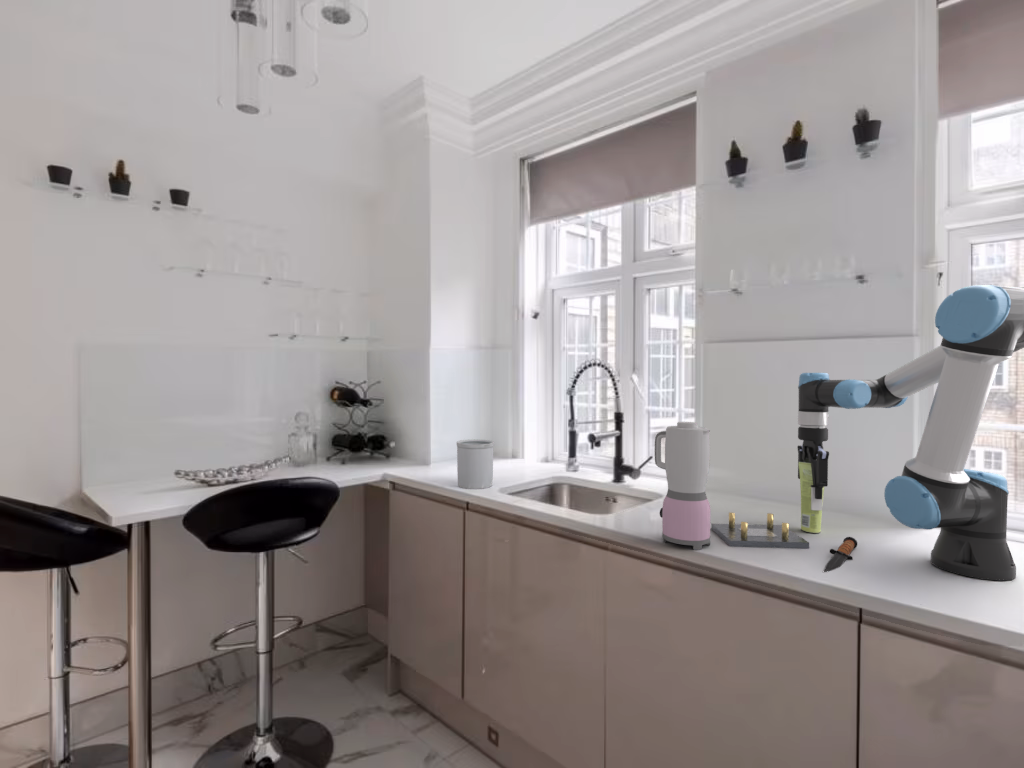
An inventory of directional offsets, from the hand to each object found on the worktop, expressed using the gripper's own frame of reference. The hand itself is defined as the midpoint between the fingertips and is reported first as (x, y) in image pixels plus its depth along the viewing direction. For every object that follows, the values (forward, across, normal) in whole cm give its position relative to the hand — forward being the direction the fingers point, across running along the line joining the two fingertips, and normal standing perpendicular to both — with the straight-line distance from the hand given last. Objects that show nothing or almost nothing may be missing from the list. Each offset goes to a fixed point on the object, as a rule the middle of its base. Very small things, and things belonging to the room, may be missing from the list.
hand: (811, 507), depth 155 cm
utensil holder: (+7, +53, +104) cm, 117 cm away
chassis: (+7, -8, +18) cm, 21 cm away
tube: (+7, 0, 0) cm, 7 cm away
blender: (+7, -13, +40) cm, 43 cm away
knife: (+8, -24, +5) cm, 25 cm away
